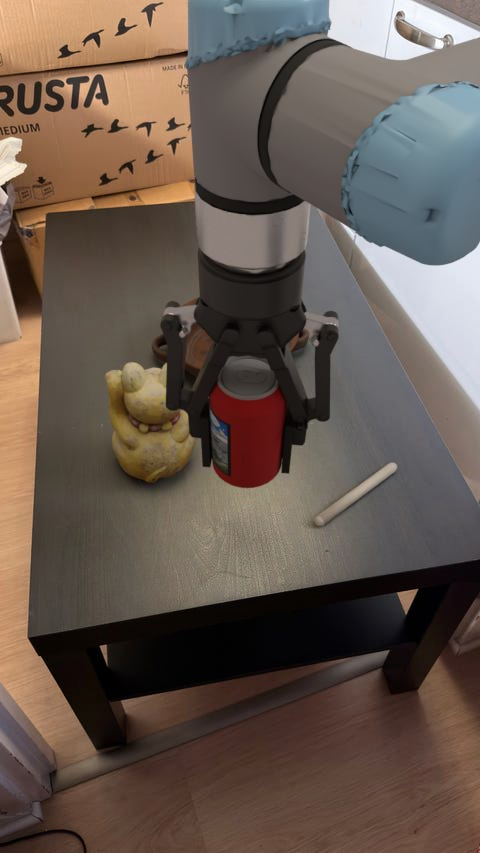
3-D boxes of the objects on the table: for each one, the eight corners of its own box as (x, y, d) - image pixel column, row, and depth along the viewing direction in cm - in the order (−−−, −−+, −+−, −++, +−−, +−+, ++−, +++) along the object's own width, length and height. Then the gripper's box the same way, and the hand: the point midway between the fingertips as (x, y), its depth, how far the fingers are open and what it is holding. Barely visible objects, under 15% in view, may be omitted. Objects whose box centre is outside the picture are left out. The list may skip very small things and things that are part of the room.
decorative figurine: (191, 433, 78) (185, 341, 67) (203, 484, 73) (199, 394, 62) (114, 445, 77) (95, 352, 66) (120, 498, 71) (100, 408, 60)
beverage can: (218, 436, 63) (215, 344, 54) (284, 443, 62) (292, 351, 54) (206, 489, 58) (201, 398, 50) (278, 497, 58) (285, 406, 49)
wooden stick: (398, 471, 75) (400, 464, 74) (319, 530, 69) (320, 524, 68) (390, 465, 75) (392, 458, 74) (311, 522, 70) (312, 516, 69)
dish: (322, 390, 84) (327, 362, 80) (158, 408, 81) (155, 380, 77) (293, 310, 95) (296, 283, 92) (149, 324, 92) (145, 296, 89)
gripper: (392, 225, 45) (349, 438, 62) (123, 210, 46) (153, 423, 63) (400, 285, 40) (351, 499, 57) (97, 267, 41) (137, 481, 58)
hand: (247, 459), depth 60 cm, fingers closed on beverage can, 7 cm apart
